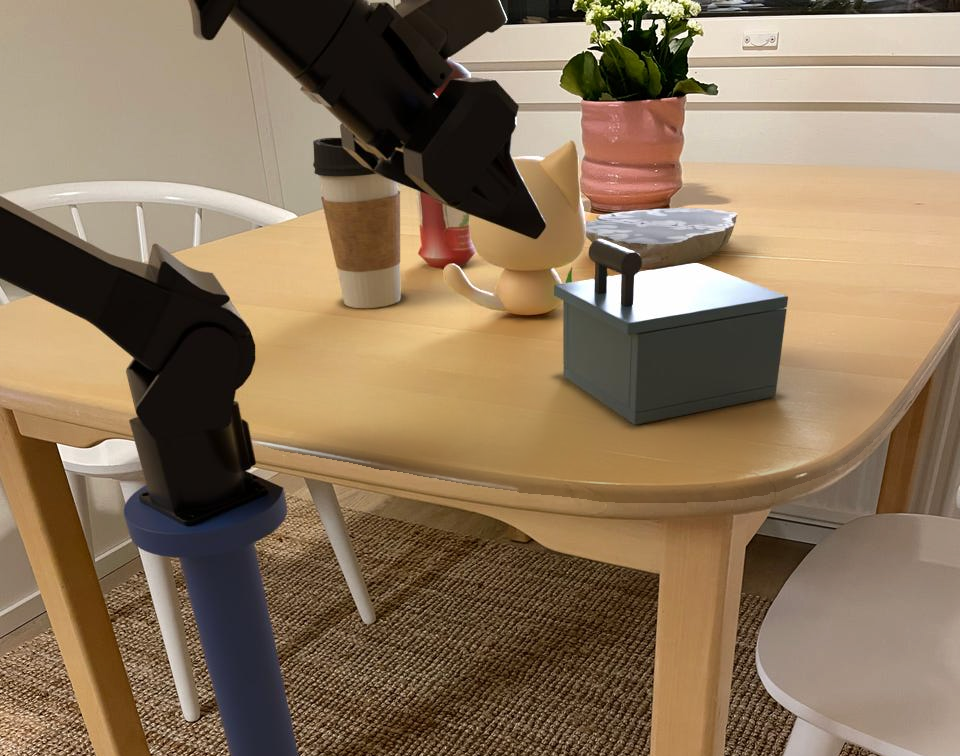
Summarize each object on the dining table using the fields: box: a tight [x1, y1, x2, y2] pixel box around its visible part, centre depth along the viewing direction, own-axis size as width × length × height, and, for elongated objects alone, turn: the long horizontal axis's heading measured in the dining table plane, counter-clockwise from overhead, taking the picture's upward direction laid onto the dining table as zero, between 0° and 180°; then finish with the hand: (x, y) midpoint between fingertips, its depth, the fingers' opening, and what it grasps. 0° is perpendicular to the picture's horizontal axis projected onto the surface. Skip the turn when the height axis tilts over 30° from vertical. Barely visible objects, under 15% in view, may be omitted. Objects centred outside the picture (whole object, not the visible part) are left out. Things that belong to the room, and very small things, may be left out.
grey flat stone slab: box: [585, 207, 738, 269], centre depth 110 cm, size 20×17×3 cm
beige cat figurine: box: [442, 140, 610, 316], centre depth 88 cm, size 15×10×15 cm, turn 64°
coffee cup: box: [312, 137, 402, 309], centre depth 94 cm, size 8×8×15 cm
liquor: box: [415, 57, 477, 269], centre depth 103 cm, size 7×7×28 cm
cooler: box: [562, 300, 787, 426], centre depth 72 cm, size 12×12×6 cm
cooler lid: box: [554, 239, 789, 335], centre depth 68 cm, size 13×12×4 cm
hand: (512, 220), depth 63 cm, fingers open, 9 cm apart
